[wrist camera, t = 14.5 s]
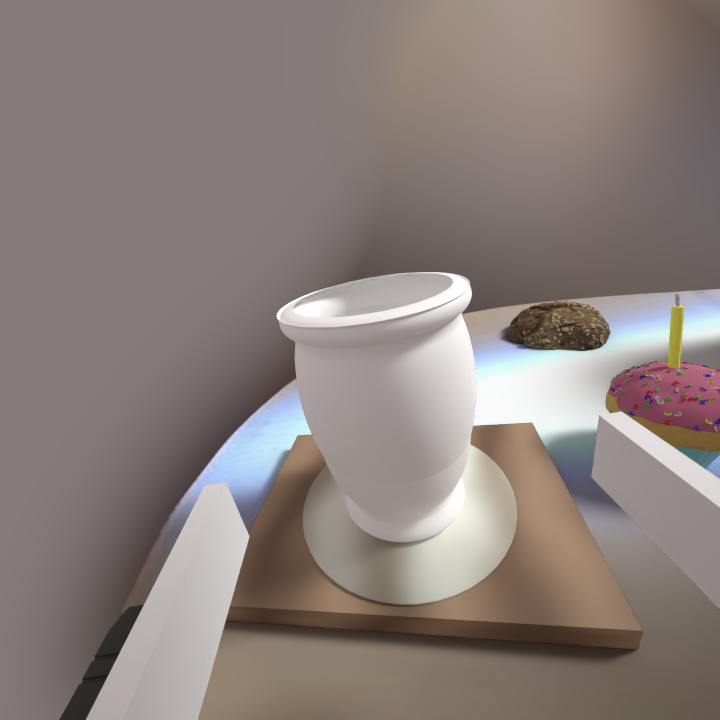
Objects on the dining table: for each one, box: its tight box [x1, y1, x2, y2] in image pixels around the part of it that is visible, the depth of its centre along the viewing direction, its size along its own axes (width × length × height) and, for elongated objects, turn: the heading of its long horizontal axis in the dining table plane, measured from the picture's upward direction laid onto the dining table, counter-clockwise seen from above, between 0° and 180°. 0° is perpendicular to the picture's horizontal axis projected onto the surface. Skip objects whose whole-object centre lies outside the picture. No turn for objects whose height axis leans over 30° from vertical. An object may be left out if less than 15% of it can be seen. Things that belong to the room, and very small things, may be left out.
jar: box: [277, 272, 476, 542], centre depth 21 cm, size 11×10×15 cm
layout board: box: [226, 423, 643, 649], centre depth 25 cm, size 22×16×2 cm
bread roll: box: [506, 301, 611, 351], centre depth 48 cm, size 13×12×5 cm
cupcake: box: [606, 294, 720, 469], centre depth 23 cm, size 9×8×12 cm
